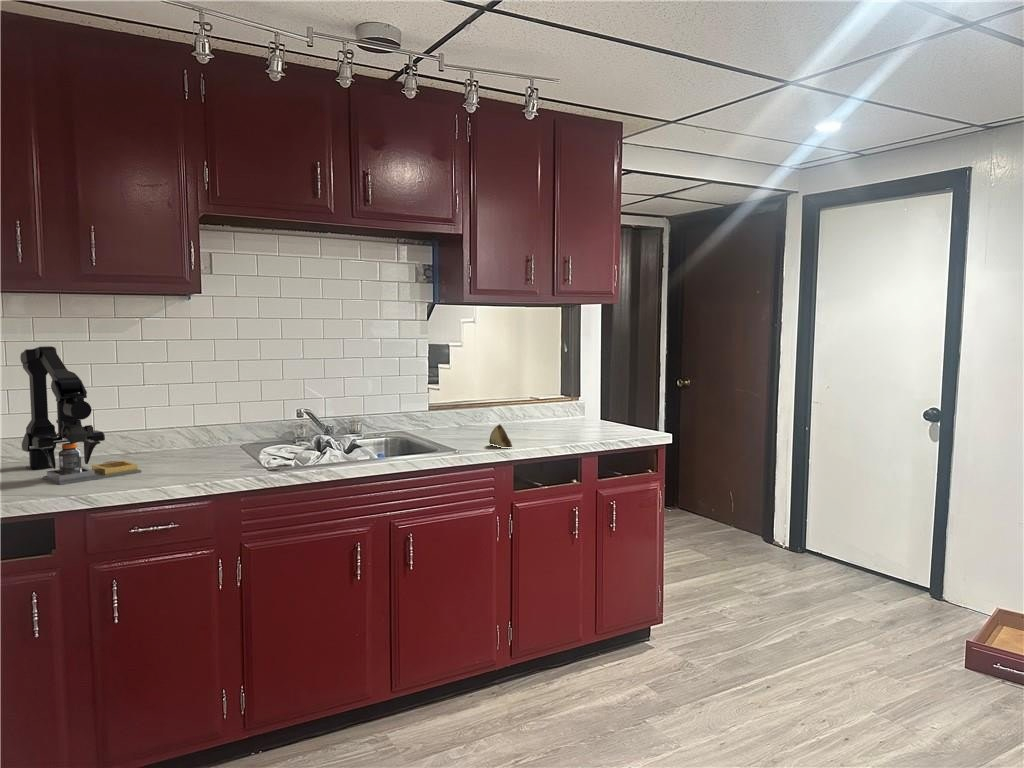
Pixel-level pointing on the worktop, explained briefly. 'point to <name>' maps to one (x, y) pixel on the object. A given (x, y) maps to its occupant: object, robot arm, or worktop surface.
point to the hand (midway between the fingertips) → (70, 466)
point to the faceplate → (93, 472)
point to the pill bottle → (70, 459)
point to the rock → (500, 437)
